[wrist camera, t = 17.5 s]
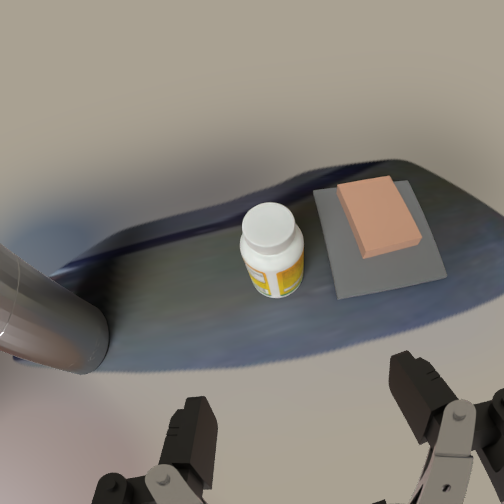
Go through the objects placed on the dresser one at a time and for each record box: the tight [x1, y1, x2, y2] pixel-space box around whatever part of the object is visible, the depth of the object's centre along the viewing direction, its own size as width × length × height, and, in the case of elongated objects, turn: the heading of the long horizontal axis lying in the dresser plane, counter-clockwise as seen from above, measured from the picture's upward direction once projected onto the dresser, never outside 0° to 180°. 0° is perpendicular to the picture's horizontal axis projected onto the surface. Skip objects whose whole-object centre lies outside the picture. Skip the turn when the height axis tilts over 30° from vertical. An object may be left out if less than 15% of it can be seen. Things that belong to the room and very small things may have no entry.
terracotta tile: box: [336, 176, 422, 259], centre depth 29 cm, size 2×7×9 cm
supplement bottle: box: [240, 202, 304, 298], centre depth 25 cm, size 5×5×10 cm
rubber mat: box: [313, 181, 447, 300], centre depth 29 cm, size 13×14×1 cm
